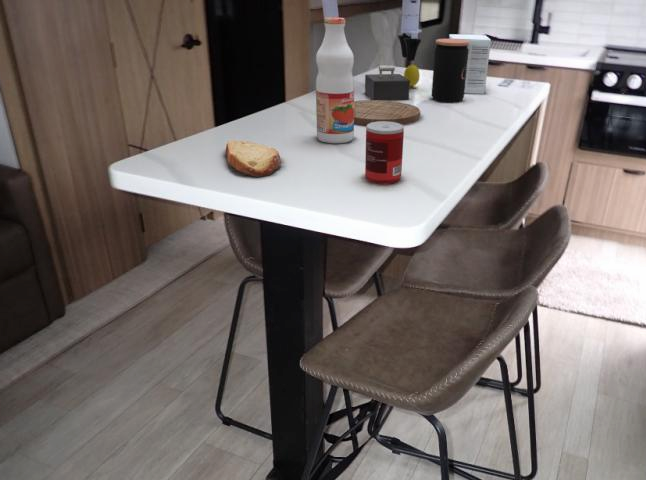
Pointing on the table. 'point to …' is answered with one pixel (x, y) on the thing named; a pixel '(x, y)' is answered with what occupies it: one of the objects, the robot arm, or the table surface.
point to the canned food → (384, 152)
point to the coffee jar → (450, 70)
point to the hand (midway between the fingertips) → (408, 58)
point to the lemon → (412, 75)
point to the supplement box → (476, 62)
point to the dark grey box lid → (387, 76)
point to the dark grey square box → (386, 90)
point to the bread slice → (252, 158)
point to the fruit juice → (335, 85)
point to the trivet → (384, 112)
